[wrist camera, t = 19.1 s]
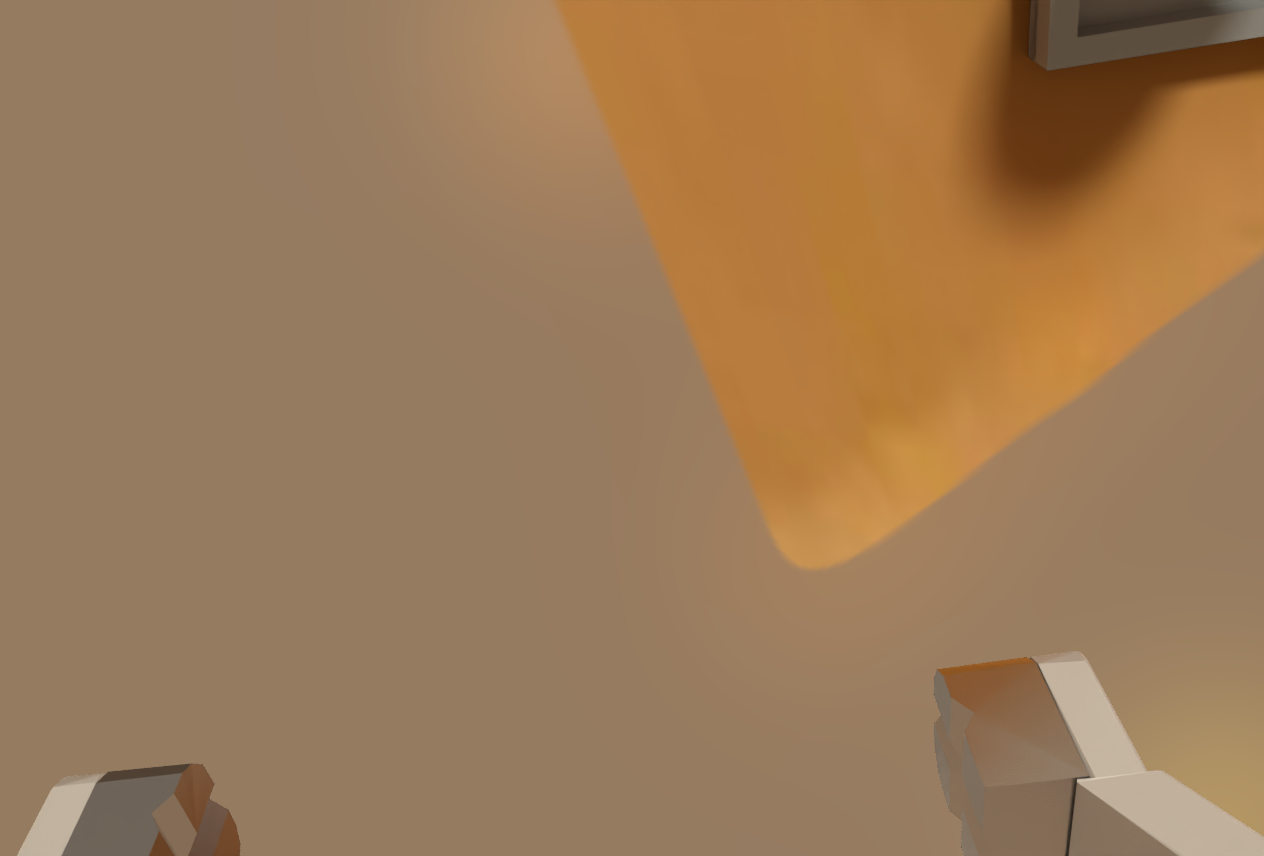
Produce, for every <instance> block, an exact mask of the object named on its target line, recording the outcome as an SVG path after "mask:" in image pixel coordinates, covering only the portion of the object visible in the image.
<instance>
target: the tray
mask: <svg viewBox="0 0 1264 856" xmlns="http://www.w3.org/2000/svg"><path fill="white" fill-rule="evenodd" d="M1257 37H1264V0H1031V4H1030V28H1029V51H1028V57H1029V58H1030V59H1032V60H1033V61H1034V62H1036V63H1037V64H1038V65H1040V66H1041V67H1042V68H1044V69H1045V70H1046V71H1049V70H1056V69H1062V68H1068V67H1075V66H1081V65H1087V64H1093V63H1100V62H1106V61H1112V60H1119V59H1125V58H1131V57H1138V56H1144V55H1150V54H1156V53H1163V52H1169V51H1175V50H1182V49H1188V48H1194V47H1201V46H1207V45H1213V44H1219V43H1226V42H1232V41H1238V40H1245V39H1251V38H1257Z"/></svg>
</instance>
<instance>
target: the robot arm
mask: <svg viewBox="0 0 1264 856" xmlns="http://www.w3.org/2000/svg"><path fill="white" fill-rule="evenodd" d="M934 696H935V699H936V702H937V705H938V708H939V711H940V714H941V716H940V717H939V718H938V720H937V721H936V722H935V723H934V741H935V742H934V743H935V752H936V760H937V767H938V772H939V776H940V780H941V784H942V788H943V791H944V795H945V798H946V801H947V804H948V808H949V811H950V812H952V813H953V814H954V815H955V816H957V817H958V818H959V819H961V820H962V834H961V848H962V851H963V854H964V856H1264V837H1263V836H1262V835H1260V834H1259V833H1257V832H1256V831H1254V830H1252V829H1251V828H1249V827H1248V826H1246V825H1245V824H1243V823H1242V822H1240V821H1239V820H1237V819H1236V818H1234V817H1233V816H1231V815H1230V814H1228V813H1226V812H1225V811H1224V810H1222V809H1220V808H1219V807H1217V806H1216V805H1214V804H1213V803H1211V802H1210V801H1208V800H1207V799H1205V798H1204V797H1202V796H1200V795H1199V794H1198V793H1196V792H1194V791H1193V790H1191V789H1190V788H1188V787H1187V786H1185V785H1184V784H1182V783H1181V782H1179V781H1178V780H1176V779H1175V778H1173V777H1171V776H1170V775H1169V774H1167V773H1166V772H1164V771H1163V770H1158V771H1147V770H1146V768H1145V766H1144V765H1143V763H1142V761H1141V759H1140V757H1139V755H1138V753H1137V752H1136V750H1135V748H1134V746H1133V744H1132V742H1131V740H1130V739H1129V737H1128V735H1127V733H1126V731H1125V729H1124V728H1123V726H1122V724H1121V722H1120V720H1119V718H1118V716H1117V714H1116V712H1115V711H1114V709H1113V707H1112V705H1111V703H1110V701H1109V700H1108V698H1107V696H1106V694H1105V692H1104V690H1103V689H1102V687H1101V685H1100V683H1099V681H1098V679H1097V677H1096V675H1095V673H1094V672H1093V670H1092V668H1091V666H1090V664H1089V662H1088V661H1087V658H1086V657H1085V656H1084V655H1082V654H1081V653H1080V652H1079V651H1073V652H1065V653H1057V654H1049V655H1042V656H1034V657H1030V658H1027V657H1024V658H1017V659H1010V660H1002V661H995V662H987V663H980V664H973V665H966V666H959V667H951V668H943V669H937V670H936V674H935V677H934ZM213 787H214V782H213V780H212V779H211V777H210V775H209V774H208V772H207V770H206V769H205V767H204V766H203V764H183V765H174V766H163V767H152V768H143V769H132V770H122V771H112V772H107V773H98V774H89V775H79V776H70V777H65V778H64V779H62V780H61V781H60V782H59V783H58V784H56V785H55V786H54V787H53V788H52V790H51V791H50V793H49V795H48V797H47V799H46V801H45V803H44V805H43V807H42V808H41V810H40V812H39V814H38V816H37V818H36V820H35V822H34V824H33V826H32V828H31V830H30V832H29V834H28V835H27V837H26V839H25V841H24V843H23V845H22V847H21V849H20V851H19V853H18V855H17V856H240V840H239V835H238V832H237V826H236V824H235V822H234V820H233V818H232V816H231V814H230V812H229V810H228V809H226V808H224V807H223V806H221V805H219V804H217V803H216V802H214V801H212V800H210V799H209V798H210V795H211V792H212V790H213Z"/></svg>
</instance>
